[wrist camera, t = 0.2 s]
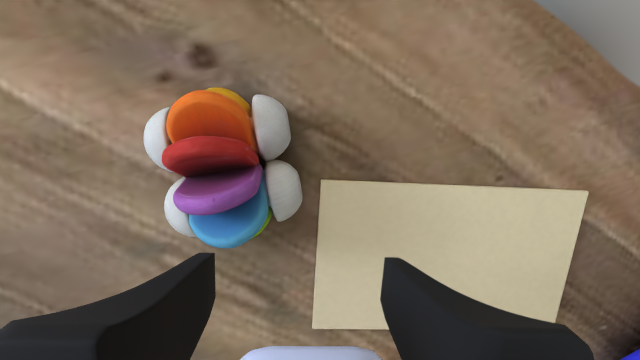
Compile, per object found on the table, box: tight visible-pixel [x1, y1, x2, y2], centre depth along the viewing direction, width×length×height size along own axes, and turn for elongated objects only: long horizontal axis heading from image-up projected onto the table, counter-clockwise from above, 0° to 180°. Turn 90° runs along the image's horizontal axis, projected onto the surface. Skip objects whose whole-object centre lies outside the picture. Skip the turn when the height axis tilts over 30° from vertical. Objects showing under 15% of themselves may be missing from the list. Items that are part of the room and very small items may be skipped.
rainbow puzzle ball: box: [144, 87, 303, 248], centre depth 18 cm, size 8×10×7 cm
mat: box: [312, 179, 589, 329], centre depth 25 cm, size 12×20×1 cm, turn 87°
